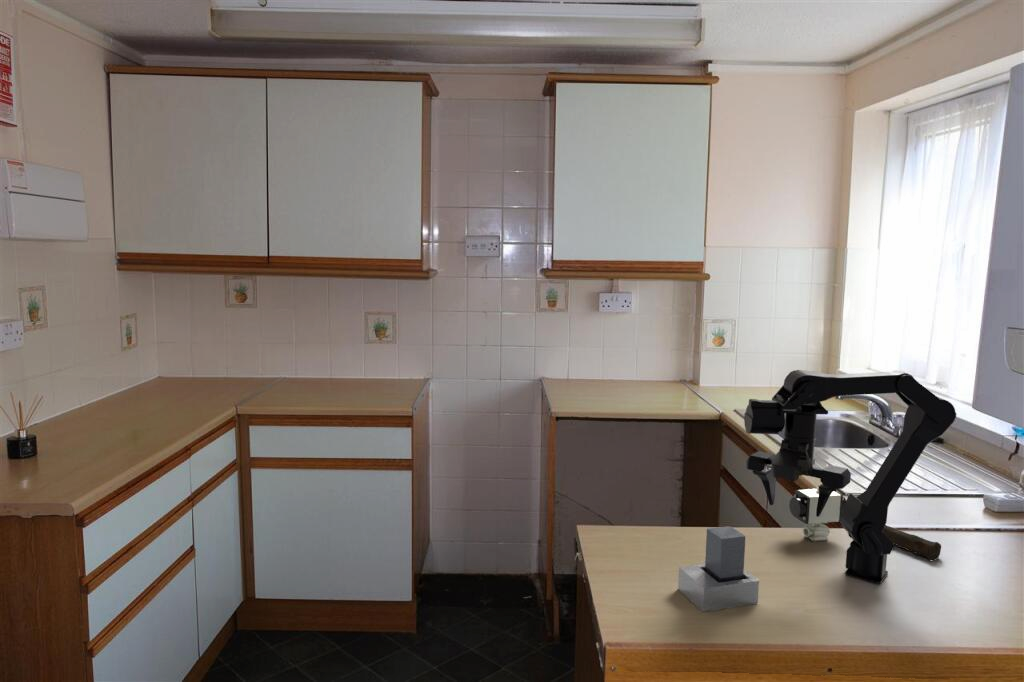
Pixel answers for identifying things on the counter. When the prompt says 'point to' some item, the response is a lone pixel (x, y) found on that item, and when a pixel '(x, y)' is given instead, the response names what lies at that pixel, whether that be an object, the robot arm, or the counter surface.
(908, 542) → the hand tool
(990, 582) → the counter surface
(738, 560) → the peg
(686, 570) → the block with rectangular hole
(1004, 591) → the counter surface
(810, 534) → the pneumatic valve
